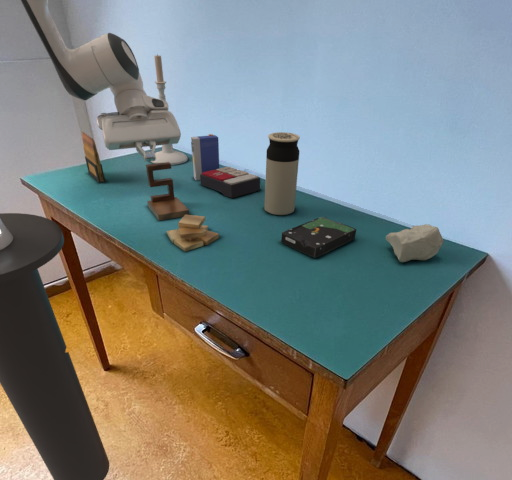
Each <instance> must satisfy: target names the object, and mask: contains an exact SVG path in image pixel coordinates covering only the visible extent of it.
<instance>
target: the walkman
mask: <svg viewBox="0 0 512 480" xmlns="http://www.w3.org/2000/svg"><path fill="white" fill-rule="evenodd" d="M190 146H191V147H190V148H191V155H192V166H193V167H192V168H193V178H194V180H195V181H201V180H200V174H202V172H207V171H211V170H216V169H219V168H220V150H219V149H220V147H219V137H218V135H215V134H212V133H209V134H208V135H199V136H190Z"/></svg>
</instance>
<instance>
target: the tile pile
mask: <svg viewBox="0 0 512 480" xmlns="http://www.w3.org/2000/svg"><path fill="white" fill-rule="evenodd" d="M205 222H206V216H203V215H194V214H193V215H192V214H189V215H184V217H181V219H180V220H179V221H178V222H177V224H178V228H176V229H170V230H166V235H167V236H168V239H169V240H170V242H171V243H172V244H173V245H175V246H177V247H178V248H179V249H180V250H182V251H183V252H189V251H191V250H195V249H198V248H200V247H204V245H205V246H208V245H210V244H212V243H213V242H215V241H217V240H218V239H219V238H220V233H217V232H214V231H211V230H209V226H208V225H203V224H204V223H205Z"/></svg>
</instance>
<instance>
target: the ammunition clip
mask: <svg viewBox="0 0 512 480" xmlns="http://www.w3.org/2000/svg"><path fill="white" fill-rule="evenodd" d="M81 139H82V144H83V152H84V159H85V162H86V167H87V172H88V175H89V176H91V177H92V178H93V179H94V180H95V181H96V182H97V183H98V184H103V183H106V177H105V173H104V169H103V165H102V162H101V159H100V155H99V153H98V150H97V145H96V142H95V140H94V138H93V137H91V136H89V135H88V134H87V133H86V132H84V131H81Z"/></svg>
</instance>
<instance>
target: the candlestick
mask: <svg viewBox="0 0 512 480" xmlns="http://www.w3.org/2000/svg"><path fill="white" fill-rule="evenodd" d="M154 65H155V74H156V81H154V83H155V84H156V89H157V90H158V99H161V100H165V101H166V102H167V100H166V94H165V90H166V83H167V81H164V71H163V63H162V55H158V53H157V54H155V55H154ZM173 145H174V144H167V145H161V147H162V148H161V150H160V151H157V152H154V153H155V156H156V160H155V161H150V163H151V164H156V163H165V162H169V163H171V166H176V165H182V164H184V163H187V161H188V156H187V155H186V154H185V153H183V152H182V151H178V150H174V146H173Z"/></svg>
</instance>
